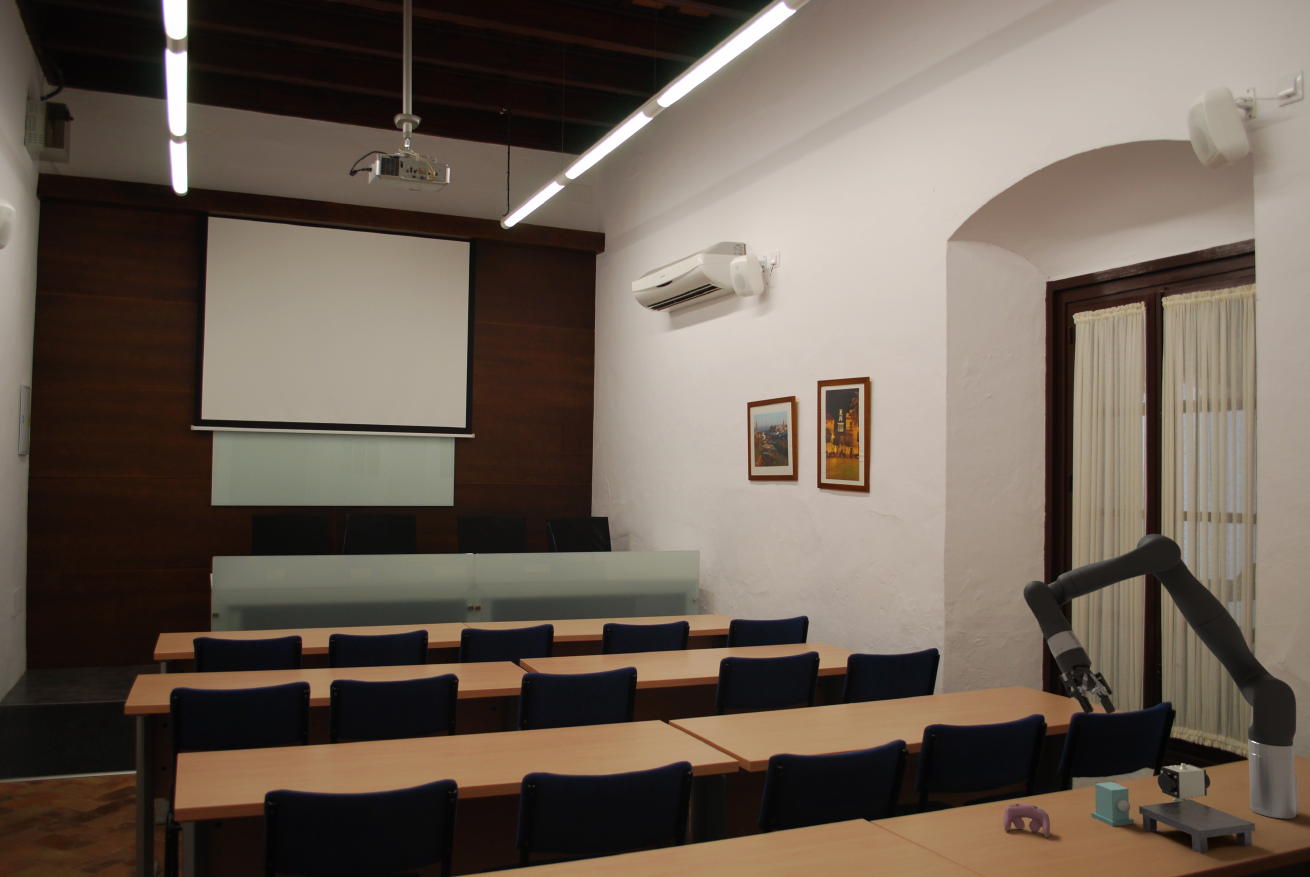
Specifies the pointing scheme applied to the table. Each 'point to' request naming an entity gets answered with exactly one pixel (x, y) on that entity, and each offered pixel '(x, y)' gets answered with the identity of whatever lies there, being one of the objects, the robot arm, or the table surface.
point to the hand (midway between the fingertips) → (1101, 712)
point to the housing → (1112, 804)
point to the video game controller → (1027, 811)
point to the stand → (1197, 822)
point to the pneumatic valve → (1183, 782)
